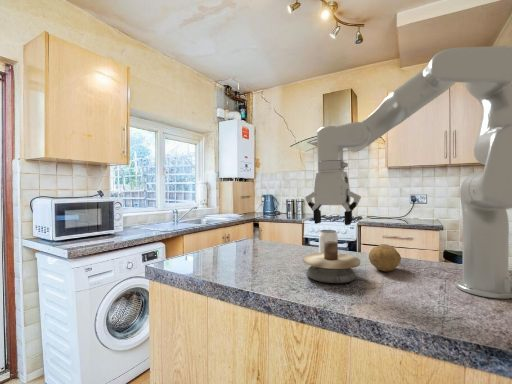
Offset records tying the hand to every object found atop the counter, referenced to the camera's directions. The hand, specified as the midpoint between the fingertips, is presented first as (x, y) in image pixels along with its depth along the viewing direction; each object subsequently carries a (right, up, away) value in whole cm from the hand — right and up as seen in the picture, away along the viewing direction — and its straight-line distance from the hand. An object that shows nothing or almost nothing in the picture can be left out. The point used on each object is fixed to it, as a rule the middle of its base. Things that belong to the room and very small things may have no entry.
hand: (332, 223), depth 88 cm
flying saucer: (0, -17, 0) cm, 17 cm away
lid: (0, -12, 0) cm, 12 cm away
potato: (+19, -17, +8) cm, 26 cm away
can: (+3, -16, +16) cm, 23 cm away
